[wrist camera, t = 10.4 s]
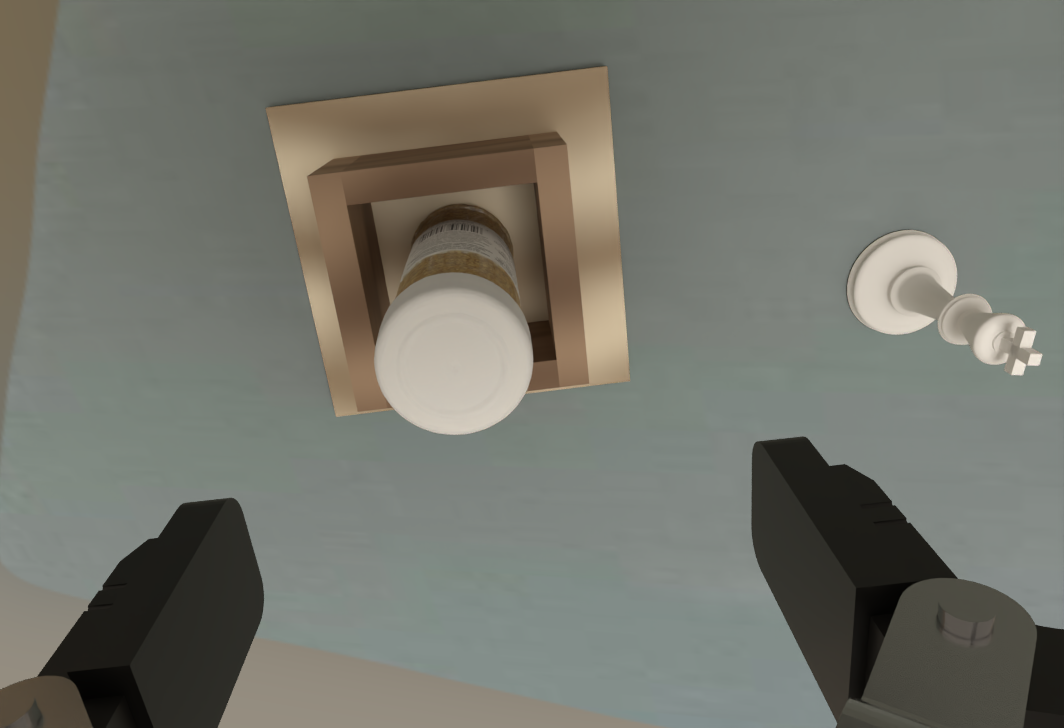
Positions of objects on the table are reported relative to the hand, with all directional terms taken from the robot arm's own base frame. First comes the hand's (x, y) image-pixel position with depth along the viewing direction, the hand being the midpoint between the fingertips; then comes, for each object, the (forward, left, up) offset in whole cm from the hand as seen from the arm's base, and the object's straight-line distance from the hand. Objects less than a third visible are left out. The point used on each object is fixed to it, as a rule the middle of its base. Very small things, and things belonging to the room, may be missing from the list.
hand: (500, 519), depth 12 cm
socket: (+1, -2, -24) cm, 24 cm away
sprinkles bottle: (+1, -2, -24) cm, 24 cm away
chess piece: (+5, +18, -25) cm, 31 cm away
